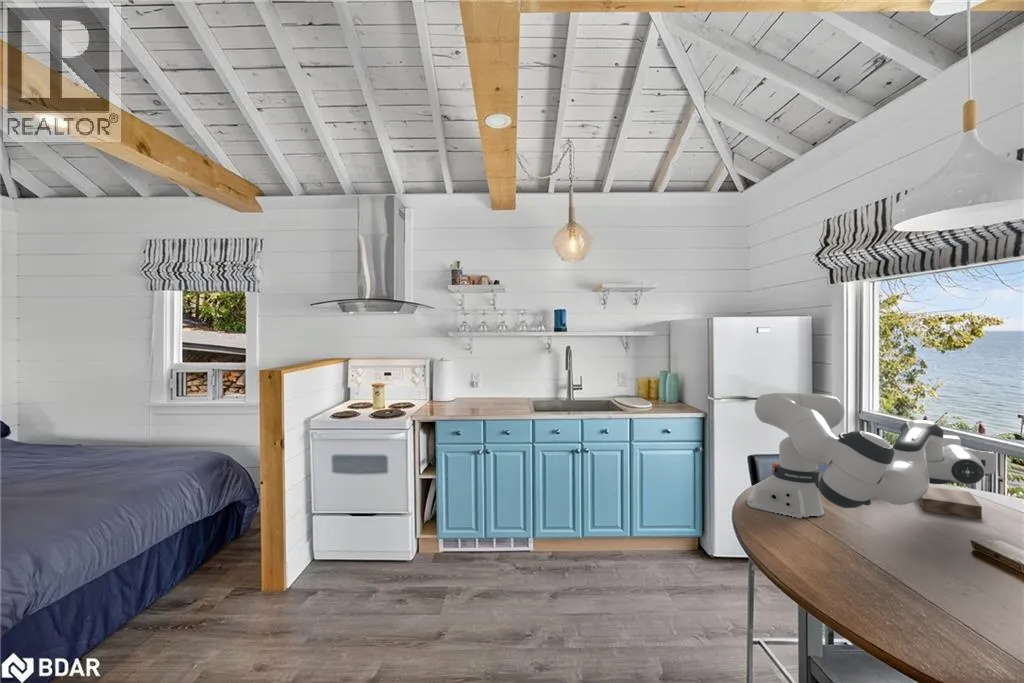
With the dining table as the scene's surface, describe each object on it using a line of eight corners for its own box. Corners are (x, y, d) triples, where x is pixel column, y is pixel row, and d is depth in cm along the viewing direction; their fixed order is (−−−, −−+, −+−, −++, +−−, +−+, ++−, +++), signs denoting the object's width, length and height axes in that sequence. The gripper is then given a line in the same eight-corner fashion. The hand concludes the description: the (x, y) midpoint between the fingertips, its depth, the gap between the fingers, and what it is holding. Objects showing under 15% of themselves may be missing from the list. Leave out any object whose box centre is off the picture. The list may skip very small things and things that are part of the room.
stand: (922, 510, 155) (922, 498, 154) (915, 496, 168) (915, 485, 168) (981, 519, 147) (981, 506, 147) (969, 503, 160) (969, 492, 160)
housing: (940, 473, 155) (940, 437, 155) (937, 469, 160) (937, 434, 160) (960, 475, 152) (960, 439, 152) (957, 471, 157) (957, 435, 157)
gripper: (912, 464, 152) (907, 455, 163) (1002, 475, 140) (989, 464, 151) (912, 445, 152) (907, 437, 163) (1002, 454, 140) (989, 445, 151)
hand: (947, 450), depth 157 cm, fingers closed on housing, 5 cm apart
